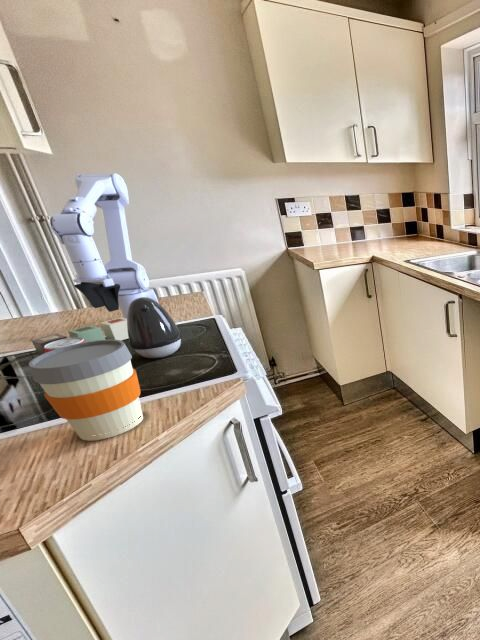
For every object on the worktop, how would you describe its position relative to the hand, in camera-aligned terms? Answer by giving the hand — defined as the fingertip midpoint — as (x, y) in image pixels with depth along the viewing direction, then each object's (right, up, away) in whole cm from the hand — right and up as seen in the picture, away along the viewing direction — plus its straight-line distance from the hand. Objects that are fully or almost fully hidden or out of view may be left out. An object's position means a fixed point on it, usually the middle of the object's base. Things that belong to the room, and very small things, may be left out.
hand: (106, 308), depth 117 cm
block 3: (+2, -8, +3) cm, 9 cm away
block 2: (-1, -10, -3) cm, 11 cm away
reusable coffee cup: (+39, -25, -39) cm, 60 cm away
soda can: (+23, -21, -28) cm, 41 cm away
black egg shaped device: (+23, -13, -9) cm, 28 cm away
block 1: (-4, -13, -9) cm, 16 cm away
